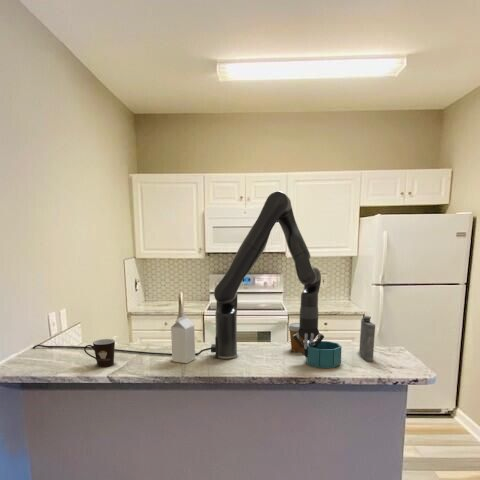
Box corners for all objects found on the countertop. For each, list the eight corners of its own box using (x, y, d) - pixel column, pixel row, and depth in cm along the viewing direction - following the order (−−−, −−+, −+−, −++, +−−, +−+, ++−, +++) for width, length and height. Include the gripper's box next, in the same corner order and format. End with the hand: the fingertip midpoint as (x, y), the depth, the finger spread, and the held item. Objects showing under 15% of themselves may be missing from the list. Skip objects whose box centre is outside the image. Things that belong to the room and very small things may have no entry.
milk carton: (195, 359, 175) (194, 316, 171) (186, 363, 169) (185, 319, 165) (181, 357, 178) (179, 314, 174) (172, 361, 172) (170, 317, 168)
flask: (364, 361, 171) (367, 320, 167) (356, 351, 185) (359, 313, 181) (373, 361, 171) (376, 320, 167) (364, 351, 185) (367, 313, 181)
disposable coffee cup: (308, 347, 192) (308, 322, 190) (309, 353, 183) (310, 327, 181) (287, 347, 193) (288, 322, 191) (288, 352, 184) (288, 327, 182)
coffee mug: (120, 362, 170) (119, 339, 168) (107, 369, 162) (106, 345, 160) (97, 360, 174) (95, 337, 172) (84, 366, 166) (82, 342, 164)
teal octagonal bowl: (309, 368, 163) (309, 349, 161) (304, 358, 176) (305, 341, 175) (343, 367, 163) (344, 349, 161) (335, 357, 176) (336, 340, 174)
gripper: (323, 314, 169) (322, 354, 173) (291, 314, 169) (290, 354, 173) (327, 318, 162) (325, 359, 165) (293, 318, 162) (292, 359, 166)
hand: (307, 356), depth 169 cm, fingers closed on teal octagonal bowl, 1 cm apart
